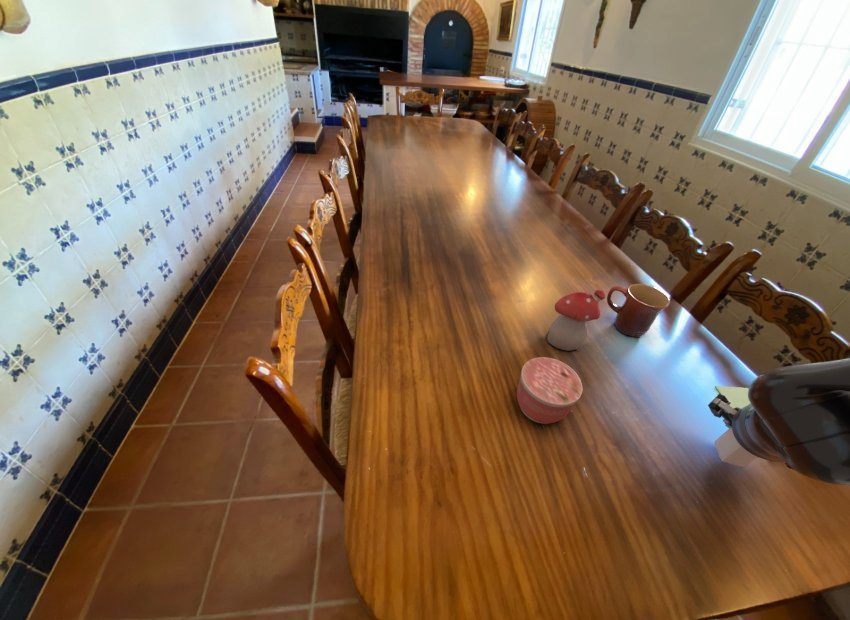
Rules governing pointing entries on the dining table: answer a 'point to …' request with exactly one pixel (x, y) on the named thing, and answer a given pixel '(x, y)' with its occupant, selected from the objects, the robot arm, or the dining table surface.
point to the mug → (637, 308)
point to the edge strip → (735, 395)
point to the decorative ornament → (574, 319)
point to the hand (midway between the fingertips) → (750, 435)
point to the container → (547, 390)
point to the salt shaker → (733, 450)
